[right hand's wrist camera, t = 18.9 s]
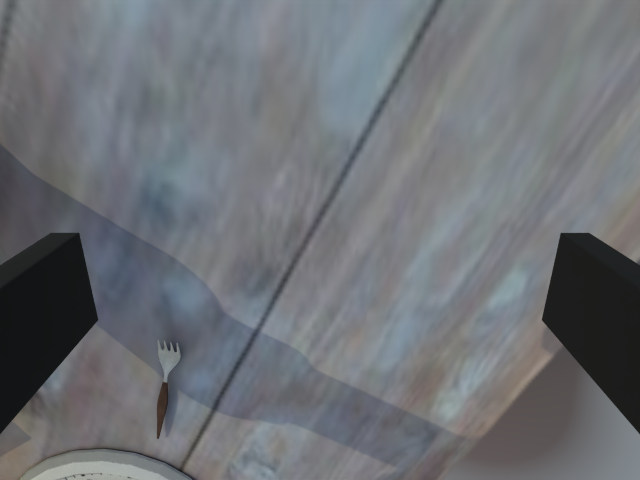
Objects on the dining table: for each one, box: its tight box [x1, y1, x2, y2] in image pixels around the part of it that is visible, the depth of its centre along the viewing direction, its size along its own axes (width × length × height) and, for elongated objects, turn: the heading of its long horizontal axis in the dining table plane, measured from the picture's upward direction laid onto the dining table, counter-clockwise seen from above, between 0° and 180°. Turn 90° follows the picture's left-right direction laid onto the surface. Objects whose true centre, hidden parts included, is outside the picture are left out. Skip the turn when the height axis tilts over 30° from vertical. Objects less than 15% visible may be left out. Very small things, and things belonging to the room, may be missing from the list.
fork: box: [157, 339, 181, 439], centre depth 52 cm, size 3×16×2 cm, turn 167°
